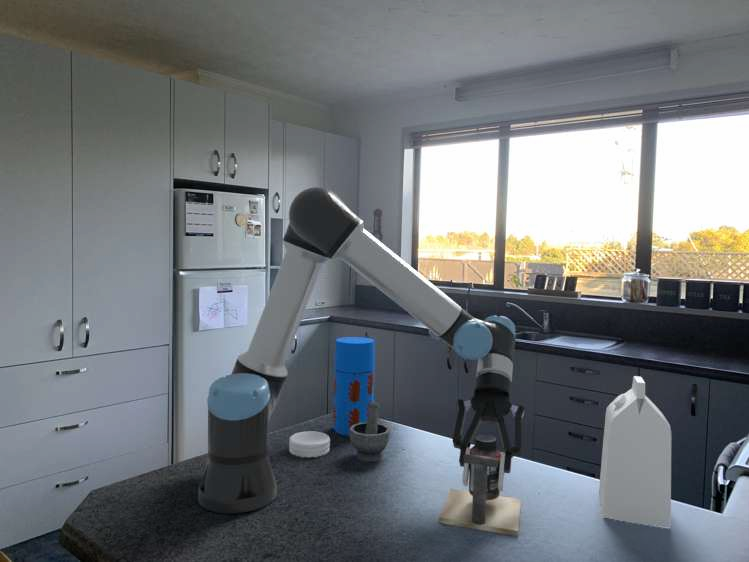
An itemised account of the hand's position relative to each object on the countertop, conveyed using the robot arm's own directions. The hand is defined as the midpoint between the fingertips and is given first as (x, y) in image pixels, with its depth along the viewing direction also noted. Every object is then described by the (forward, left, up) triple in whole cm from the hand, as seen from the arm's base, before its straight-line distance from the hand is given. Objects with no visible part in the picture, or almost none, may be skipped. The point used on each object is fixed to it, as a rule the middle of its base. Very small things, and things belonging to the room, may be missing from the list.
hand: (482, 485), depth 103 cm
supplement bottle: (0, +4, -4) cm, 5 cm away
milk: (+28, +14, -6) cm, 32 cm away
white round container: (-44, +20, -7) cm, 49 cm away
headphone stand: (0, +2, -6) cm, 6 cm away
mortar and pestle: (-29, +22, -6) cm, 37 cm away
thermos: (-39, +38, -6) cm, 55 cm away
